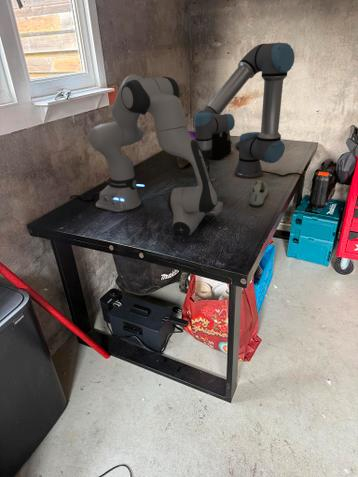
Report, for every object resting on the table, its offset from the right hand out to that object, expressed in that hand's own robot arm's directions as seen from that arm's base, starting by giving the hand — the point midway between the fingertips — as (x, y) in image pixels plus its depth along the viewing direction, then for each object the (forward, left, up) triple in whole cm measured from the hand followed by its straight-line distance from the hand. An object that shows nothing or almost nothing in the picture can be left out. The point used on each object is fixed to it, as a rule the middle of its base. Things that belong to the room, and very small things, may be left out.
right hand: (204, 196), depth 162 cm
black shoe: (-19, -99, -1) cm, 100 cm away
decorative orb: (+26, -78, -1) cm, 82 cm away
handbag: (+4, -72, -1) cm, 73 cm away
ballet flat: (-26, -5, -1) cm, 26 cm away
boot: (+24, -54, -1) cm, 59 cm away
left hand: (-3, +15, +5) cm, 17 cm away
